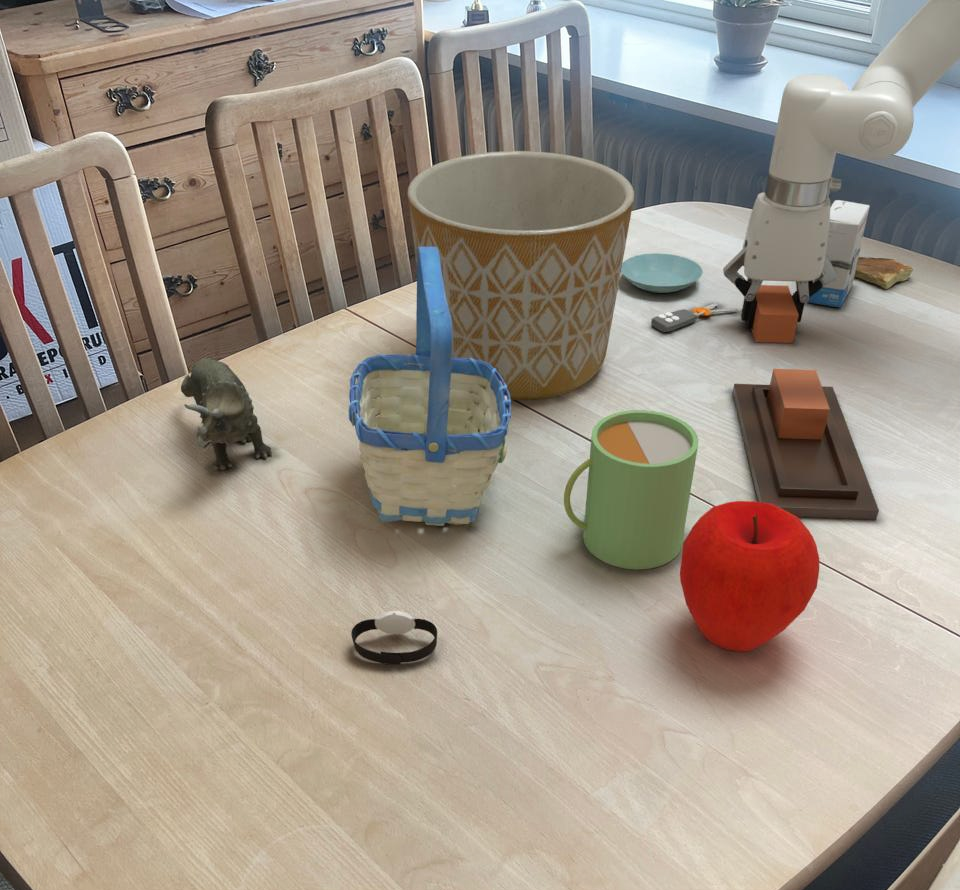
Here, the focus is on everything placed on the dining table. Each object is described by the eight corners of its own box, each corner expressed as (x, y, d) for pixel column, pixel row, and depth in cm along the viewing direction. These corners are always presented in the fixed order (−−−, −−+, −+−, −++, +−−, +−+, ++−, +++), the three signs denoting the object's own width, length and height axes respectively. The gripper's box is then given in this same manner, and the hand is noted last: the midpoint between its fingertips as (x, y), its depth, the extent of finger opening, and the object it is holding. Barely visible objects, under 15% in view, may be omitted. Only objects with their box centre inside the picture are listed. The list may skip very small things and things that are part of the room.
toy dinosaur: (184, 404, 127) (165, 317, 119) (253, 394, 129) (239, 307, 121) (205, 505, 112) (185, 412, 104) (284, 491, 114) (270, 399, 106)
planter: (624, 324, 143) (641, 156, 128) (608, 423, 124) (625, 240, 109) (438, 310, 146) (433, 144, 131) (394, 403, 127) (383, 223, 112)
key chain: (666, 335, 141) (668, 325, 140) (648, 325, 143) (649, 315, 142) (737, 312, 146) (739, 302, 145) (719, 302, 148) (721, 292, 147)
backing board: (732, 392, 129) (739, 353, 126) (830, 395, 129) (840, 356, 125) (761, 515, 110) (770, 474, 107) (876, 519, 110) (889, 478, 106)
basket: (517, 542, 107) (523, 326, 91) (356, 548, 106) (335, 332, 90) (500, 434, 122) (503, 233, 106) (359, 439, 121) (341, 237, 105)
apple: (800, 603, 100) (832, 486, 91) (799, 688, 91) (834, 569, 82) (675, 585, 102) (694, 469, 93) (663, 667, 93) (683, 548, 84)
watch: (438, 632, 97) (437, 602, 94) (437, 667, 93) (436, 637, 91) (355, 633, 97) (351, 603, 94) (351, 668, 93) (348, 638, 91)
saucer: (602, 283, 153) (603, 267, 151) (654, 260, 159) (656, 245, 157) (664, 309, 146) (666, 293, 145) (716, 284, 152) (719, 269, 151)
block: (746, 312, 146) (751, 284, 143) (782, 313, 146) (788, 285, 143) (754, 342, 139) (760, 313, 136) (792, 343, 139) (799, 315, 136)
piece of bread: (823, 266, 157) (825, 254, 156) (854, 253, 161) (857, 242, 159) (884, 290, 151) (887, 278, 150) (915, 277, 154) (918, 265, 153)
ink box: (839, 309, 146) (860, 225, 138) (803, 302, 148) (822, 219, 140) (852, 286, 152) (873, 203, 144) (817, 279, 154) (836, 198, 146)
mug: (663, 503, 112) (678, 404, 104) (695, 563, 104) (713, 461, 96) (549, 515, 110) (554, 415, 102) (572, 577, 103) (580, 474, 95)
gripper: (860, 179, 132) (827, 315, 145) (724, 176, 133) (703, 311, 145) (872, 201, 127) (838, 340, 139) (731, 197, 128) (708, 336, 140)
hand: (769, 324), depth 142 cm, fingers closed on block, 5 cm apart
